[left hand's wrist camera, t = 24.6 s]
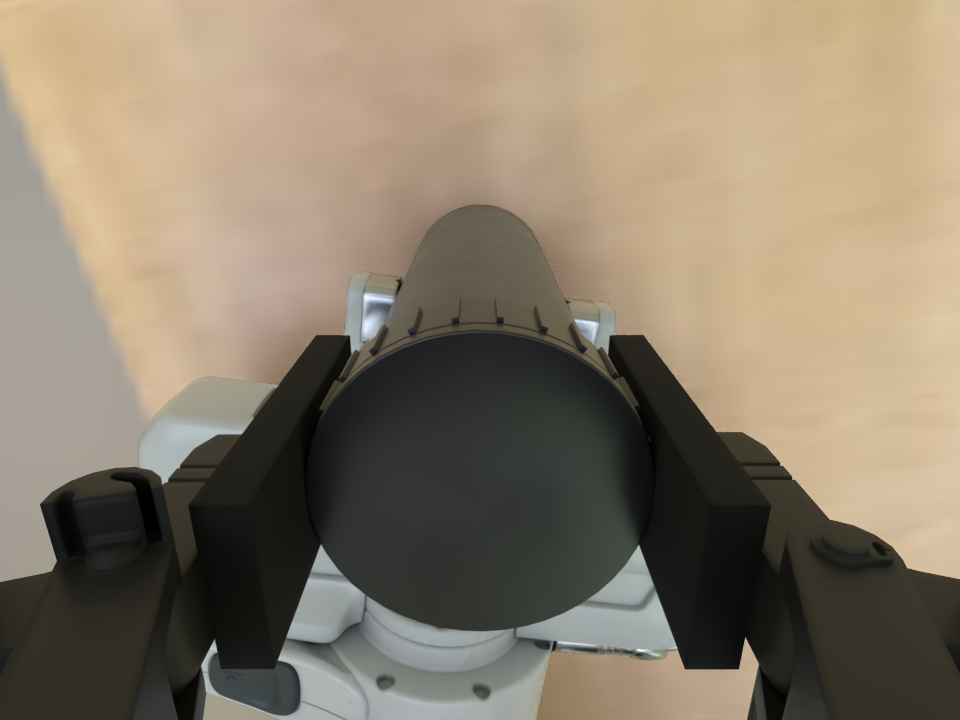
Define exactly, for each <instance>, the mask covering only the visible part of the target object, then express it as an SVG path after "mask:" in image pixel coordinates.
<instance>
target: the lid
mask: <svg viewBox="0 0 960 720" xmlns="http://www.w3.org/2000/svg"><path fill="white" fill-rule="evenodd" d="M618 377H619V375H618V373H617V371H616V369H615V367H614V366H613V364H612V362H611V360H610V358H609V356H608V354H607V353H606V351H605V349H604V348H603V347H600V348H599V349H597V347H596V346H595V345H594V344H593V343H592V342H591V341H590V340H588V339H587V338H586V337H585V336H584V335H582V334H581V333H580V331H579V329H578V326H577V325H576V324H575V323H573V322H572V323H571V324H570V325H568V324H567V323H565V322H563V321H562V320H560V319H558V318H556V317H554V316H552V315H550V314H547V313H545V312H543V310H542V307H541V306H539V305H535V308H532V307H528V306H525V305H522V304H518V303H512V302H506V301H502V297H500V296H496V297H495V300H482V299H473V300H462V301H461V299H460V297H454V301H453V302H448V303H443V304H439V305H434V306H431V307H428V308H425V309H423V310H422V309H421V307H420V306H418V307H416V308H414V311H413V313H412V314H410V315H408V316H406V317H404V318H402V319H400V320H398V321H396V322H394V323H393V324H391V325H390V326H389V327H386V325H385V324H384V325H382V326H381V327H380V328H379V330H378V332H377V334H376V336H375V337H374V338H373V339H372V340H371V341H369V342H368V343H367V344H366V345H365V346H364V347H363V348H362V349H361V350H360V352H358V351H357V350H354V352H353V353H352V355H351V356H350V358H349V360H348V362H347V364H346V366H345V367H344V369H343V371H342V373H341V375H340V377H339V379H338V380H339V381H337V380H335V381H334V383H333V385H332V386H331V388H330V390H329V392H328V394H327V396H326V397H325V399H324V401H323V403H322V405H321V406H320V408H319V410H318V412H317V413H318V414H320V415H321V417H320V419H319V421H318V423H317V425H316V428H315V430H314V433H313V435H312V437H311V440H310V443H309V448H308V453H307V457H306V464H305V476H304V481H305V491H306V500H307V507H308V512H309V516H310V520H311V522H312V525H313V528H314V530H315V533H316V536H317V538H318V540H319V541H320V543H321V545H322V547H323V549H324V550H325V552H326V554H327V555H328V557H329V558H330V559H331V561H332V562H333V563H334V565H335V566H336V567H337V569H338V570H339V571H340V572H341V573H342V574H343V575H344V576H345V577H346V578H347V579H348V580H349V581H350V583H351V584H353V585H354V586H355V587H356V588H357V589H359V590H360V591H361V592H362V593H364V594H365V595H366V596H367V597H369V598H371V599H372V600H374V601H375V602H377V603H378V604H380V605H382V606H383V607H385V608H387V609H389V610H391V611H393V612H395V613H397V614H399V615H401V616H404V617H406V618H409V619H412V620H415V621H418V622H420V623H424V624H428V625H432V626H436V627H440V628H446V629H453V630H460V631H483V632H484V631H498V630H508V629H513V628H519V627H525V626H528V625H532V624H536V623H539V622H543V621H546V620H548V619H551V618H553V617H556V616H558V615H561V614H563V613H565V612H567V611H569V610H571V609H573V608H575V607H576V606H578V605H580V604H582V603H583V602H585V601H586V600H588V599H589V598H591V597H592V596H593V595H595V594H596V593H598V592H599V591H600V590H601V589H602V588H604V587H605V586H606V585H607V584H608V583H609V582H610V581H612V580H613V579H614V577H615V576H616V575H617V574H618V573H619V572H620V571H621V570H622V568H623V567H624V566H625V565H626V564H627V562H628V561H629V559H630V558H631V556H632V555H633V553H634V552H635V550H636V549H637V547H638V545H639V543H640V541H641V539H642V537H643V535H644V533H645V531H646V528H647V525H648V522H649V519H650V516H651V512H652V504H653V496H654V487H655V465H654V458H653V451H652V448H651V439H650V437H649V436H648V434H647V432H646V430H645V428H644V426H643V424H642V421H641V419H640V417H639V415H638V413H637V411H639V410H641V408H640V406H639V404H638V403H637V401H636V399H635V397H634V395H633V394H632V392H631V390H630V388H629V386H628V385H627V383H626V381H625V379H624V377H621V378H618Z"/></svg>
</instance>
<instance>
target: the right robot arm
mask: <svg viewBox="0 0 960 720" xmlns="http://www.w3.org/2000/svg"><path fill="white" fill-rule="evenodd" d="M401 286H402V277H396V276H389V275H382V274H375V273H371V272H360V271H356V272H355V273H354V274H353V276H352V277H351V278H350V280H349V284H348V289H347V295H346V312H345V330H344V332H343V333H342V335H350V341H351V353H353V352H354V350H357V351H358V352H359V350H360V349H361V348H362V346H363V345H364V343H365V342H369V341H371V340H372V339H373V338H374V337H375V336H376V334H377V332H378V330H379V328H380V327H381V326H382V325H383V324H384V322H385V320H386V318H387V315H388V313H389V311H390V309H391V307H392V305H393V303H394V301H395V298H396V296H397V294H398V292H399V290H400V288H401ZM564 299H565V301H566V303H567V305H568V307H569V309H570V311H571V314H572V316H573V318H574V320H575V322H576V324H577V326H578V329H579V331H580V333H581V334H582V335H584V336H585V337H586V338H587V339H588V340H590V341H591V342H592V343H593V344H594V345H595V346H596V347H597V349H599V348H600V347H603V348H604V349H605V351H606V353H607V354H608V348H609V336H610V335H614V331H615V325H616V315H615V311H614V310H613V308H612V307H611V305H610V304H609V303H608V302H600V301H592V300H583V299H574V298H566V297H564ZM277 387H278V384H270V383H261V382H252V381H244V380H235V379H227V378H219V377H201V378H199V379H196V380H195V381H193V382H192V383H191V384H189V385H188V386H187V387H186V388H184V389H183V390H182V391H181V392H179V393H178V394H177V395H176V396H174V397H173V398H172V399H171V400H169V401H168V402H167V403H166V404H165V405H164V406H163V407H162V408H161V409H160V410H159V411H158V412H157V414H156V415H155V416H154V417H153V418H152V419H151V421H150V422H149V423H148V425H147V426H146V427H145V429H144V431H143V433H142V435H141V438H140V441H139V448H138V467H139V468H143V469H148V470H152V471H153V472H155V473H156V474H158V475H159V476H160V477H161V480H162V485H163V484H164V483H165V482H168V478H169V477H170V476H171V475H172V474H173V472H174V471H175V470H176V469H177V468H180V464H181V463H182V462H183V461H184V460H185V459H186V457H187V456H188V455H189V454H190V453H191V452H192V450H193V449H194V448H196V447H198V446H199V445H201V444H203V443H204V442H206V441H208V440H209V439H211V438H213V437H214V436H216V435H218V434H242V433H243V432H244V431H245V429H246V428H247V427H248V425H249V424H250V423H251V421H252V420H253V419H254V417H255V416H256V415H257V413H258V412H259V411H260V409H261V408H262V407H263V405H264V404H265V403H266V401H267V400H268V399H269V397H270V396H271V395H272V393H273V392H274V391H275V389H276V388H277ZM675 650H678V649H677V646H676V643H675V641H674V638H673V635H672V633H671V630H670V627H669V625H668V622H667V619H666V617H665V614H664V611H663V609H662V606H661V603H660V600H659V598H658V595H657V592H656V590H655V587H654V584H653V582H652V579H651V576H650V574H649V571H648V568H647V566H646V563H645V560H644V557H643V555H642V552H641V549H640V547H639V545H638V547H637V549H636V550H635V552H634V553H633V555H632V556H631V558H630V559H629V561H628V562H627V564H626V565H625V566H624V567H623V568H622V570H621V571H620V572H619V573H618V574H617V575H616V576H615V577H614V579H613V580H612V581H610V582H609V583H608V584H607V585H606V586H605V587H604V588H602V589H601V590H600V591H599V592H598V593H596V594H595V595H593V596H592V597H591V598H589V599H588V600H586V601H585V602H583V603H582V604H580V605H578V606H576V607H575V608H573V609H571V610H569V611H567V612H565V613H563V614H561V615H558V616H556V617H553V618H551V619H548V620H546V621H543V622H539V623H536V624H532V625H528V626H525V627H519V628H513V629H508V630H498V631H484V632H483V631H460V630H453V629H446V628H440V627H436V626H432V625H428V624H424V623H420V622H418V621H415V620H412V619H409V618H406V617H404V616H401V615H399V614H397V613H395V612H393V611H391V610H389V609H387V608H385V607H383V606H382V605H380V604H378V603H377V602H375V601H374V600H372V599H371V598H369V597H367V596H366V595H365V594H364V593H362V592H361V591H360V590H359V589H357V588H356V587H355V586H354V585H353V584H351V583H350V581H349V580H348V579H347V578H346V577H345V576H344V575H343V574H342V573H341V572H340V571H339V570H338V569H337V567H336V566H335V565H334V563H333V562H332V561H331V559H330V558H329V557H328V555H327V554H326V552H325V550H324V549H323V547H322V545H321V546H320V548H319V551H318V554H317V556H316V559H315V562H314V564H313V567H312V570H311V573H310V575H309V578H308V581H307V583H306V586H305V589H304V591H303V594H302V597H301V599H300V602H299V605H298V607H297V610H296V613H295V616H294V618H293V621H292V624H291V626H290V629H289V632H288V634H287V637H286V640H285V642H284V645H283V648H282V650H281V653H280V656H279V659H278V661H277V664H276V667H275V669H221V668H220V663H219V658H218V653H217V648H216V643H215V639H214V641H213V643H212V645H211V647H210V649H209V651H208V653H207V655H206V657H205V659H204V661H203V663H202V665H201V666H202V671H203V676H204V681H205V688H206V693H208V694H210V695H213V696H216V697H219V698H222V699H225V700H228V701H231V702H234V703H237V704H240V705H243V706H246V707H248V708H251V709H254V710H256V711H259V712H262V713H264V714H267V715H269V716H271V717H274V718H276V719H278V720H536V718H537V714H538V709H539V705H540V700H541V696H542V691H543V687H544V682H545V677H546V673H547V669H548V664H549V660H550V656H551V653H552V651H556V652H557V651H558V652H567V653H577V654H587V655H598V654H599V655H605V654H615V655H619V654H620V655H626V656H630V657H631V658H634V659H639V660H660V659H664V658H665V657H666V654H667V651H675Z"/></svg>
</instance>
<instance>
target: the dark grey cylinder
mask: <svg viewBox="0 0 960 720" xmlns="http://www.w3.org/2000/svg"><path fill="white" fill-rule="evenodd" d="M496 296H500V297H502V301H506V302H512V303H518V304H522V305H525V306H528V307H532V308H535V305H539V306H541V307H542V310H543V312H545V313H547V314H550V315H552V316H554V317H556V318H558V319H560V320H562V321H563V322H565V323H567V324H568V325H570V324H571V323H572V322H573V323H575V324H576V322H575V320H574V318H573V316H572V314H571V311H570V309H569V307H568V305H567V303H566V301H565V299H564V297H563V294H562V292H561V290H560V288H559V286H558V284H557V282H556V279H555V277H554V275H553V273H552V271H551V269H550V267H549V265H548V262H547V260H546V258H545V256H544V254H543V252H542V250H541V247H540V245H539V243H538V241H537V239H536V237H535V235H534V234H533V233H532V231H531V230H530V228H529V227H528V226H527V225H526V224H525V223H524V222H523V221H522V220H521V219H519V218H518V217H517V216H515V215H514V214H512V213H510V212H508V211H506V210H504V209H501V208H498V207H494V206H488V205H472V206H466V207H462V208H459V209H456V210H454V211H452V212H450V213H448V214H446V215H445V216H443V217H442V218H441V219H439V220H438V221H437V222H436V223H435V224H434V225H433V226H432V227H431V228H430V230H429V231H428V232H427V234H426V236H425V237H424V239H423V241H422V243H421V245H420V247H419V249H418V251H417V254H416V256H415V258H414V260H413V262H412V264H411V266H410V269H409V271H408V273H407V275H406V277H405V279H404V281H403V283H402V286H401V288H400V290H399V292H398V294H397V296H396V298H395V301H394V303H393V305H392V307H391V309H390V311H389V313H388V315H387V318H386V320H385V322H384V324H385V325H386V327H389V326H390V325H391V324H393V323H394V322H396V321H398V320H400V319H402V318H404V317H406V316H408V315H410V314H412V313H413V311H414V308H416V307H418V306H420V307H421V309H422V310H423V309H425V308H428V307H431V306H434V305H439V304H443V303H448V302H453V301H454V297H460V299H461V301H462V300H473V299H482V300H495V297H496ZM384 324H383V325H384ZM576 325H577V324H576Z"/></svg>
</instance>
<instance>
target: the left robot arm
mask: <svg viewBox="0 0 960 720" xmlns="http://www.w3.org/2000/svg"><path fill="white" fill-rule="evenodd" d="M351 355H352V353H351V341H350V335H316V336H315V338H314V339H313V340H312V342H311V343H310V344H309V345H308V347H307V348H306V349H305V351H304V352H303V353H302V355H301V356H300V357H299V359H298V360H297V361H296V363H295V364H294V365H293V367H292V368H291V369H290V371H289V372H288V373H287V375H286V376H285V377H284V379H283V380H282V381H281V383H280V384H279V385H278V387H277V388H276V389H275V391H274V392H273V393H272V395H271V396H270V397H269V399H268V400H267V401H266V403H265V404H264V405H263V407H262V408H261V409H260V411H259V412H258V413H257V415H256V416H255V417H254V419H253V420H252V421H251V423H250V424H249V425H248V427H247V428H246V429H245V431H244V432H243V433H242V434H218V435H216V436H214V437H213V438H211V439H209V440H208V441H206V442H204V443H203V444H201V445H199V446H198V447H196V448H194V449H193V450H192V452H191V453H190V454H189V455H188V456H187V457H186V459H185V460H184V461H183V462H182V463H181V464H180V468H177V469H176V470H175V471H174V472H173V474H172V475H171V476H170V477H169V478H168V482H165V483H164V484H163V485H162V480H161V477H160V476H159V475H158V474H156V473H155V472H153V471H152V470H148V469H143V468H138V467H128V468H113V469H109V470H104V471H99V472H95V473H91V474H89V475H86V476H83V477H81V478H78V479H75V480H73V481H70V482H68V483H67V484H65V485H63V486H62V487H60V488H58V489H57V490H55V491H53V492H52V493H51V494H50V495H49V496H48V497H47V498H46V499H45V500H44V501H43V502H42V503H41V504H40V506H41V509H42V513H43V516H44V519H45V523H46V526H47V529H48V533H49V536H50V539H51V543H52V546H53V549H54V553H55V556H56V559H57V562H56V564H55V566H54V568H53V570H52V571H51V572H47V573H44V574H39V575H34V576H29V577H24V578H19V579H14V580H9V581H4V582H0V720H203V714H204V706H205V698H206V688H205V681H204V676H203V671H202V666H201V665H202V663H203V661H204V659H205V657H206V655H207V653H208V651H209V649H210V647H211V645H212V643H213V641H214V639H215V643H216V648H217V653H218V658H219V663H220V668H221V669H275V667H276V664H277V661H278V659H279V656H280V653H281V650H282V648H283V645H284V642H285V640H286V637H287V634H288V632H289V629H290V626H291V624H292V621H293V618H294V616H295V613H296V610H297V607H298V605H299V602H300V599H301V597H302V594H303V591H304V589H305V586H306V583H307V581H308V578H309V575H310V573H311V570H312V567H313V564H314V562H315V559H316V556H317V554H318V551H319V548H320V546H321V543H320V541H319V540H318V538H317V536H316V533H315V530H314V528H313V525H312V522H311V520H310V516H309V512H308V507H307V500H306V491H305V481H304V476H305V464H306V457H307V453H308V448H309V443H310V440H311V437H312V435H313V433H314V430H315V428H316V425H317V423H318V421H319V419H320V417H321V415H320V414H318V413H317V412H318V410H319V408H320V406H321V405H322V403H323V401H324V399H325V397H326V396H327V394H328V392H329V390H330V388H331V386H332V385H333V383H334V381H335V380H337V381H339V380H338V379H339V377H340V375H341V373H342V371H343V369H344V367H345V366H346V364H347V362H348V360H349V358H350V356H351ZM608 356H609V358H610V360H611V362H612V364H613V366H614V367H615V369H616V371H617V373H618V375H619V377H618V378H621V377H624V379H625V381H626V383H627V385H628V386H629V388H630V390H631V392H632V394H633V395H634V397H635V399H636V401H637V403H638V404H639V406H640V408H641V410H639V411H637V413H638V415H639V417H640V419H641V421H642V424H643V426H644V428H645V430H646V432H647V434H648V436H649V437H650V439H651V448H652V451H653V458H654V465H655V487H654V496H653V504H652V512H651V516H650V519H649V522H648V525H647V528H646V531H645V533H644V535H643V537H642V539H641V541H640V543H639V547H640V549H641V552H642V555H643V557H644V560H645V563H646V566H647V568H648V571H649V574H650V576H651V579H652V582H653V584H654V587H655V590H656V592H657V595H658V598H659V600H660V603H661V606H662V609H663V611H664V614H665V617H666V619H667V622H668V625H669V627H670V630H671V633H672V635H673V638H674V641H675V643H676V646H677V649H678V652H679V654H680V657H681V660H682V662H683V665H684V668H685V669H739V666H740V661H741V656H742V651H743V646H744V641H745V637H746V639H747V641H748V643H749V645H750V647H751V649H752V651H753V653H754V655H755V657H756V659H757V661H758V662H759V666H758V671H757V676H756V680H755V685H754V690H753V694H752V699H751V704H750V708H749V713H748V718H747V720H960V579H955V578H950V577H945V576H940V575H935V574H930V573H925V572H920V571H916V570H912V569H908V568H907V567H906V565H905V563H904V561H903V560H902V558H901V557H900V556H899V555H898V553H897V552H896V551H895V550H894V548H893V547H892V546H890V545H889V544H887V543H886V542H884V541H883V540H882V539H880V538H879V537H877V536H876V535H874V534H872V533H869V532H867V531H865V530H863V529H860V528H858V527H856V526H853V525H849V524H845V523H841V522H837V521H833V520H829V518H828V517H827V516H826V515H825V514H824V513H823V512H822V510H821V509H820V508H819V507H818V506H817V505H816V503H815V502H814V501H813V500H812V499H811V498H810V497H809V495H808V494H807V493H806V492H805V491H804V490H803V489H802V487H801V486H800V485H799V484H798V483H797V482H796V480H792V476H791V475H790V474H789V472H788V471H787V470H786V469H785V468H784V467H783V466H780V462H779V461H778V460H777V459H776V458H775V456H774V455H773V454H772V453H771V452H770V451H769V449H768V448H767V447H766V446H764V445H763V444H761V443H759V442H758V441H756V440H754V439H753V438H751V437H749V436H747V435H746V434H744V433H742V432H716V431H715V430H714V428H713V427H712V426H711V424H710V423H709V422H708V420H707V419H706V418H705V416H704V415H703V414H702V413H701V411H700V410H699V409H698V407H697V406H696V405H695V403H694V402H693V401H692V399H691V398H690V397H689V395H688V394H687V393H686V391H685V390H684V389H683V387H682V386H681V385H680V383H679V382H678V381H677V379H676V378H675V377H674V375H673V374H672V373H671V371H670V370H669V369H668V367H667V366H666V365H665V363H664V362H663V361H662V359H661V358H660V357H659V355H658V354H657V353H656V351H655V350H654V349H653V347H652V346H651V345H650V343H649V342H648V341H647V339H646V338H645V337H644V335H610V336H609V348H608Z"/></svg>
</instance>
